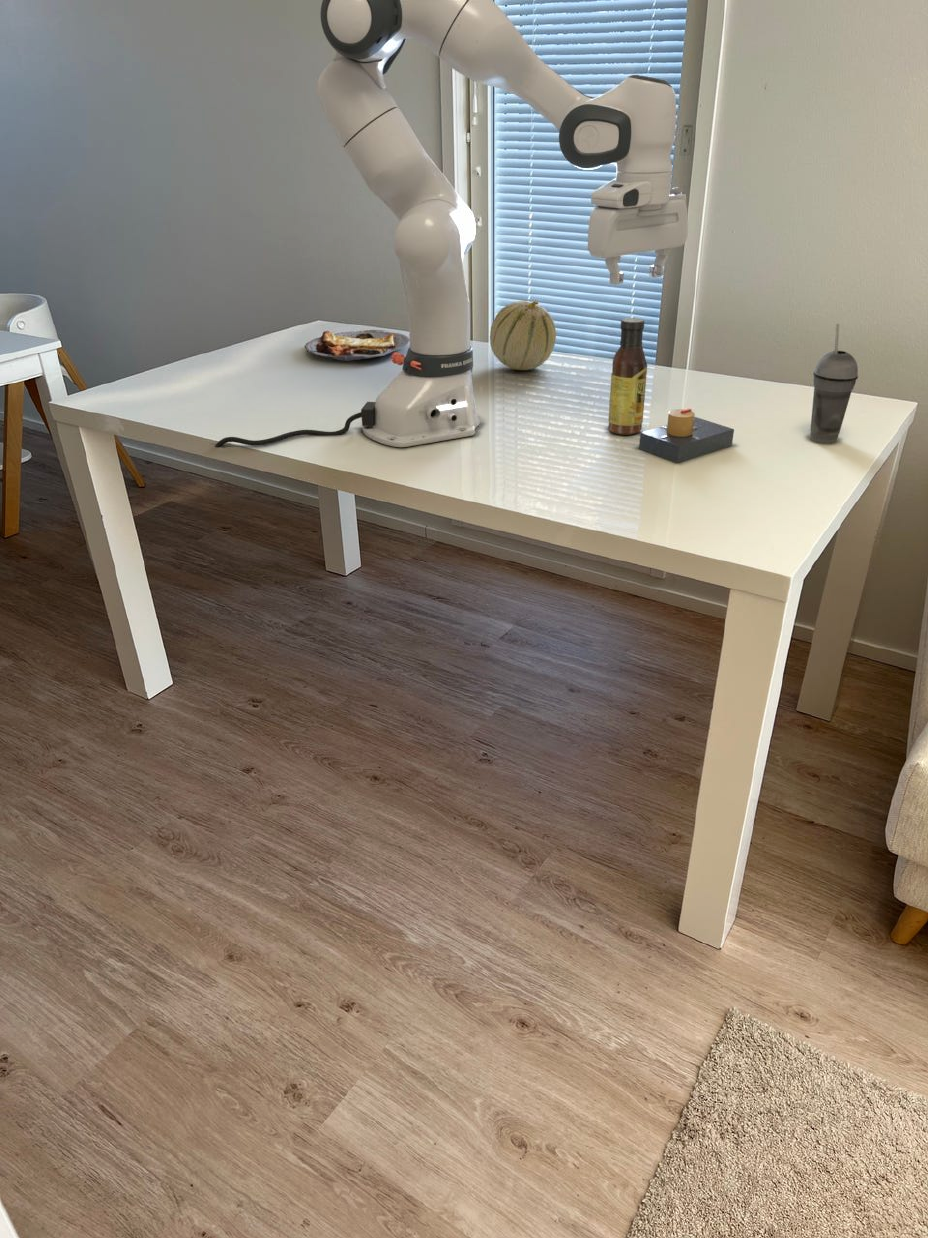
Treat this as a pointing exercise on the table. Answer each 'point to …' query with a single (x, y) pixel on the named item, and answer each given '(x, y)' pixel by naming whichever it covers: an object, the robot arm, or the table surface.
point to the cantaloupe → (523, 335)
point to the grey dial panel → (686, 441)
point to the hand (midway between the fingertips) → (636, 280)
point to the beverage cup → (832, 393)
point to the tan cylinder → (680, 422)
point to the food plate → (356, 344)
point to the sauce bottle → (628, 380)
